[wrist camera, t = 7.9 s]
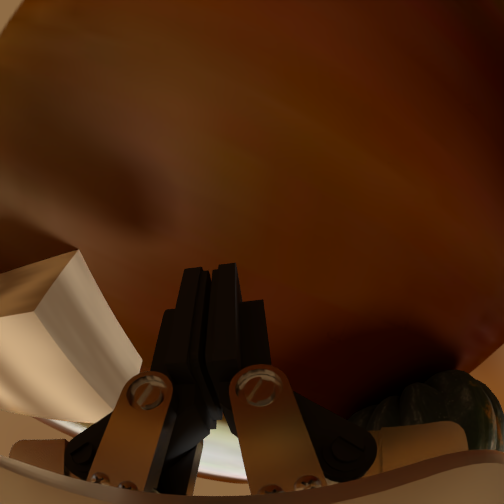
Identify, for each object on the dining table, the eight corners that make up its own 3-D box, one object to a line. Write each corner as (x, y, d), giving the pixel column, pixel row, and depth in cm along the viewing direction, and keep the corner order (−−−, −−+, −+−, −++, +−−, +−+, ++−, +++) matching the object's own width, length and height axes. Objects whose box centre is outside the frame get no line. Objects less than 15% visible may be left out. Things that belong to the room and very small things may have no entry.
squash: (512, 408, 18) (537, 513, 5) (402, 478, 24) (367, 578, 11) (444, 315, 23) (459, 403, 10) (331, 404, 29) (261, 498, 16)
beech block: (81, 246, 13) (33, 311, 9) (143, 356, 17) (127, 424, 13) (-33, 283, 14) (-69, 328, 10) (23, 363, 18) (1, 410, 14)
